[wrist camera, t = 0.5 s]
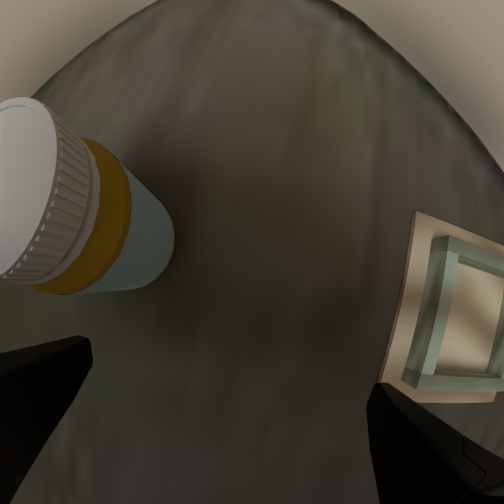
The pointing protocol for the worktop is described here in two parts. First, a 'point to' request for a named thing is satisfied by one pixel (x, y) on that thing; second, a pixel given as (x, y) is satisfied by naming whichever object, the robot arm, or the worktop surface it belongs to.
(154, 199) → the bottle
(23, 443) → the robot arm
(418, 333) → the square rimmed tray
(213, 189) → the worktop surface
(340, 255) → the worktop surface
